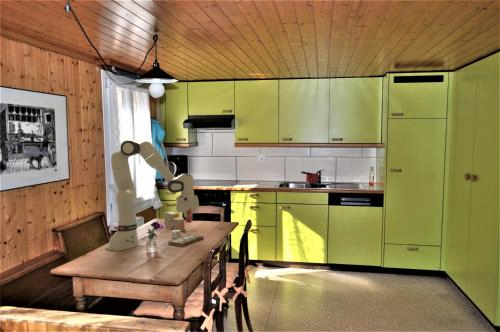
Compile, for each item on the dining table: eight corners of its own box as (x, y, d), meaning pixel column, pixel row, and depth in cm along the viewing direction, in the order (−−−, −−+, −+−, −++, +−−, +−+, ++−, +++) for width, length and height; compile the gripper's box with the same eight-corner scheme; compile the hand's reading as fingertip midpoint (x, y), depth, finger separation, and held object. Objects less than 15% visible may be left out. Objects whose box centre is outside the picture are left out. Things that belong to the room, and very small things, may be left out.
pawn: (189, 223, 271) (188, 207, 270) (184, 222, 273) (183, 206, 272) (193, 221, 275) (192, 206, 274) (188, 221, 277) (187, 205, 276)
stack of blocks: (184, 230, 305) (184, 214, 304) (177, 231, 301) (177, 215, 301) (171, 225, 322) (171, 211, 321) (164, 227, 318) (164, 212, 317)
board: (181, 246, 260) (181, 243, 260) (168, 244, 266) (168, 241, 266) (203, 238, 279) (203, 235, 279) (190, 236, 286) (190, 233, 285)
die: (176, 238, 281) (176, 231, 280) (171, 237, 283) (170, 230, 283) (181, 237, 285) (181, 230, 285) (176, 236, 288) (175, 229, 287)
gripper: (193, 194, 283) (194, 213, 284) (174, 198, 266) (175, 218, 267) (200, 194, 280) (201, 214, 281) (181, 199, 262) (182, 219, 264)
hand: (188, 216), depth 274 cm, fingers closed on pawn, 3 cm apart
